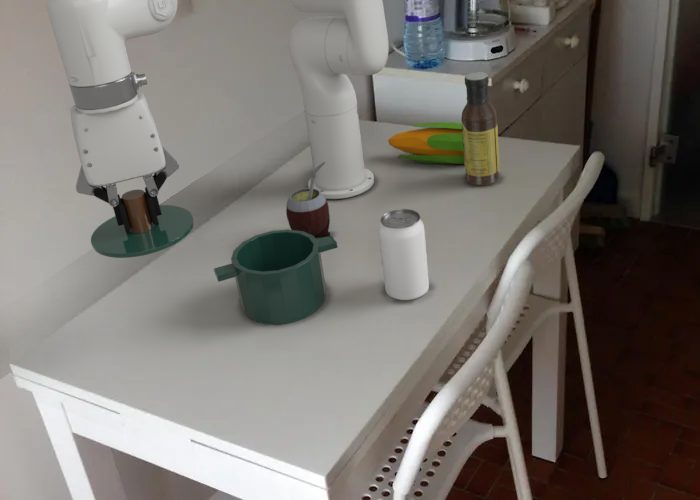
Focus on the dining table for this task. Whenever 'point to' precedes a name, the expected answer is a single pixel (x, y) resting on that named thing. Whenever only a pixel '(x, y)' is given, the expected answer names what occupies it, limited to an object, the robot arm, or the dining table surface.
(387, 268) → the can
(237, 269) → the pot
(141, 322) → the dining table surface
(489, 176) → the sauce bottle
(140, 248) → the pot lid
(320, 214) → the mate gourd
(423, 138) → the corn
